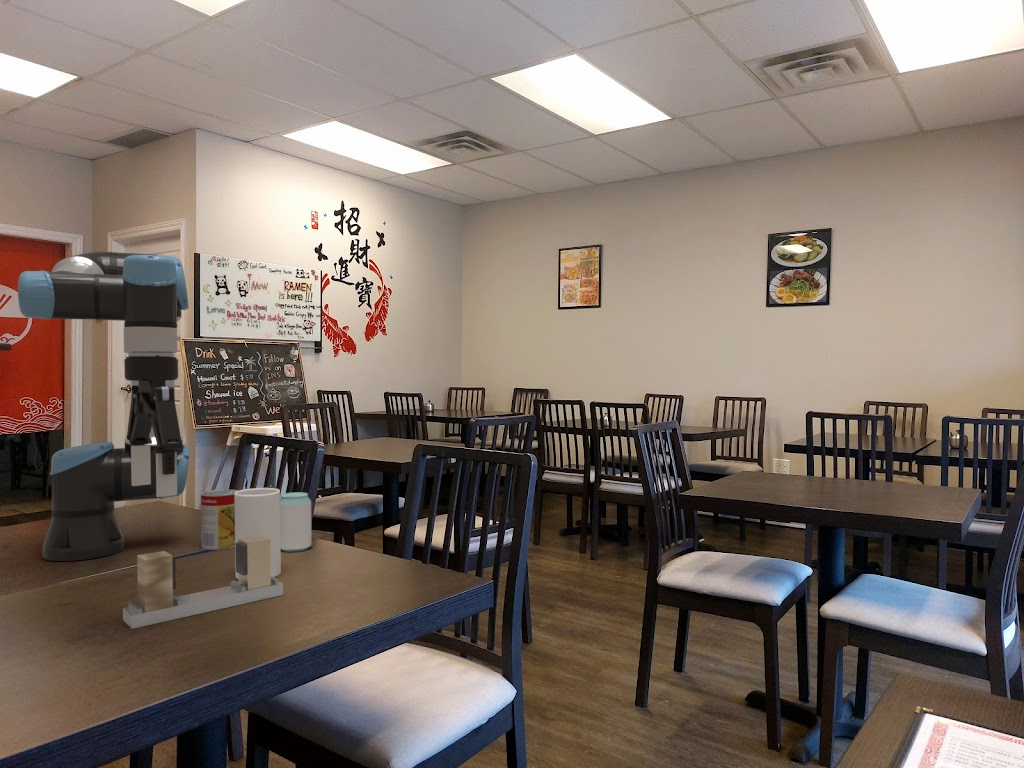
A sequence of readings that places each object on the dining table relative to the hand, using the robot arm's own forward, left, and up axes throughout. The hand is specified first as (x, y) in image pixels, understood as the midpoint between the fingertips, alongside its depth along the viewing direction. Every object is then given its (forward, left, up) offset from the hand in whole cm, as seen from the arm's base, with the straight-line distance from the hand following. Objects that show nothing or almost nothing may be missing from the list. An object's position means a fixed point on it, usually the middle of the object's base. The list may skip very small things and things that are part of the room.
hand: (153, 490), depth 112 cm
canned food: (-41, +25, -21) cm, 52 cm away
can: (-27, +36, -21) cm, 49 cm away
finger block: (0, 0, -18) cm, 18 cm away
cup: (-13, +22, -21) cm, 33 cm away
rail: (0, +8, -20) cm, 22 cm away
